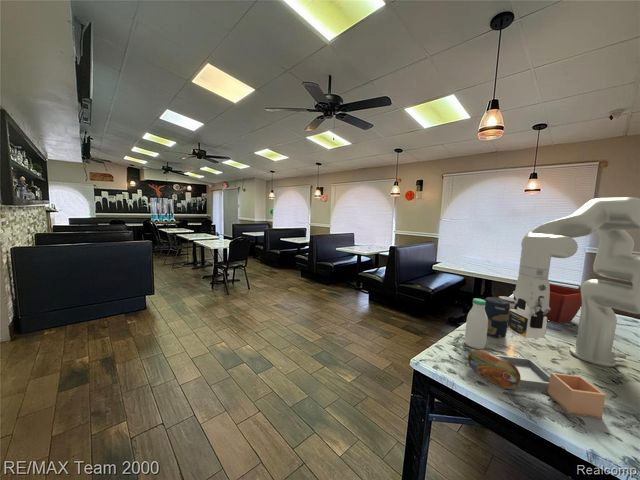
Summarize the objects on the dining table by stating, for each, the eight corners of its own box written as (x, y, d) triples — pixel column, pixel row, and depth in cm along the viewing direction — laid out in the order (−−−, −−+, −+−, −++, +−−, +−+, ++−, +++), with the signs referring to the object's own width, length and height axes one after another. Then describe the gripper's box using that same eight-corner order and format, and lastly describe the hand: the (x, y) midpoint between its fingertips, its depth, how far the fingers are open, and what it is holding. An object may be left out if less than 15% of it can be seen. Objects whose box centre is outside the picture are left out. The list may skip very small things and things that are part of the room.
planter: (577, 397, 76) (580, 376, 75) (601, 418, 68) (605, 395, 67) (547, 393, 77) (550, 372, 76) (568, 413, 69) (572, 390, 69)
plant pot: (519, 312, 143) (523, 284, 142) (541, 309, 149) (545, 282, 147) (559, 327, 125) (564, 295, 123) (583, 323, 131) (587, 292, 129)
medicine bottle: (507, 328, 88) (510, 295, 86) (525, 328, 88) (529, 295, 87) (525, 338, 81) (529, 303, 79) (545, 338, 81) (550, 303, 80)
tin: (466, 368, 89) (468, 346, 88) (470, 365, 90) (473, 344, 90) (516, 395, 76) (519, 369, 75) (520, 391, 78) (523, 366, 77)
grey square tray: (529, 365, 92) (530, 358, 92) (559, 392, 78) (560, 384, 78) (487, 360, 94) (488, 354, 94) (509, 385, 80) (510, 378, 80)
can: (492, 317, 135) (494, 296, 134) (504, 314, 140) (506, 293, 139) (515, 326, 125) (518, 303, 124) (527, 322, 130) (530, 300, 128)
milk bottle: (488, 350, 101) (494, 304, 99) (468, 348, 102) (473, 302, 100) (480, 341, 108) (485, 297, 106) (461, 339, 110) (465, 295, 108)
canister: (501, 332, 118) (505, 295, 116) (509, 341, 109) (514, 302, 107) (478, 328, 121) (482, 293, 119) (484, 337, 112) (488, 299, 110)
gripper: (567, 279, 73) (559, 335, 75) (528, 267, 90) (522, 313, 92) (539, 277, 74) (531, 332, 76) (506, 266, 91) (500, 311, 93)
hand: (526, 321), depth 84 cm, fingers closed on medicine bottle, 8 cm apart
